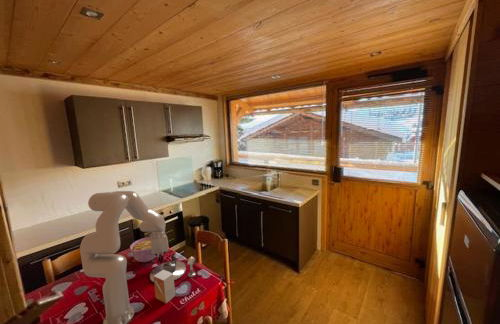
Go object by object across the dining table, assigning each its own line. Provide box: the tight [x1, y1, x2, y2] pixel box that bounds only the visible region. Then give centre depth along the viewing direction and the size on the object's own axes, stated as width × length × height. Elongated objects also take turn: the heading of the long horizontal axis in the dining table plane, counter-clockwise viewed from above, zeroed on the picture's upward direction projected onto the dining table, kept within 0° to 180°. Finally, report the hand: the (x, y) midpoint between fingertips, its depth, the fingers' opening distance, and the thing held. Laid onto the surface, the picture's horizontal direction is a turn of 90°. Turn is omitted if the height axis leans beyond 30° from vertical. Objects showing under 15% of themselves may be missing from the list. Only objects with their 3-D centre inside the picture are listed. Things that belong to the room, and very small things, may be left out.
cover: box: [163, 260, 176, 273], centre depth 134 cm, size 7×7×5 cm
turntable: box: [149, 254, 187, 283], centre depth 134 cm, size 21×21×6 cm
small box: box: [153, 270, 176, 304], centre depth 113 cm, size 8×6×13 cm
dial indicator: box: [187, 256, 197, 278], centre depth 131 cm, size 4×4×12 cm
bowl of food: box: [129, 236, 158, 263], centre depth 151 cm, size 20×20×12 cm
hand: (160, 261), depth 139 cm, fingers closed
